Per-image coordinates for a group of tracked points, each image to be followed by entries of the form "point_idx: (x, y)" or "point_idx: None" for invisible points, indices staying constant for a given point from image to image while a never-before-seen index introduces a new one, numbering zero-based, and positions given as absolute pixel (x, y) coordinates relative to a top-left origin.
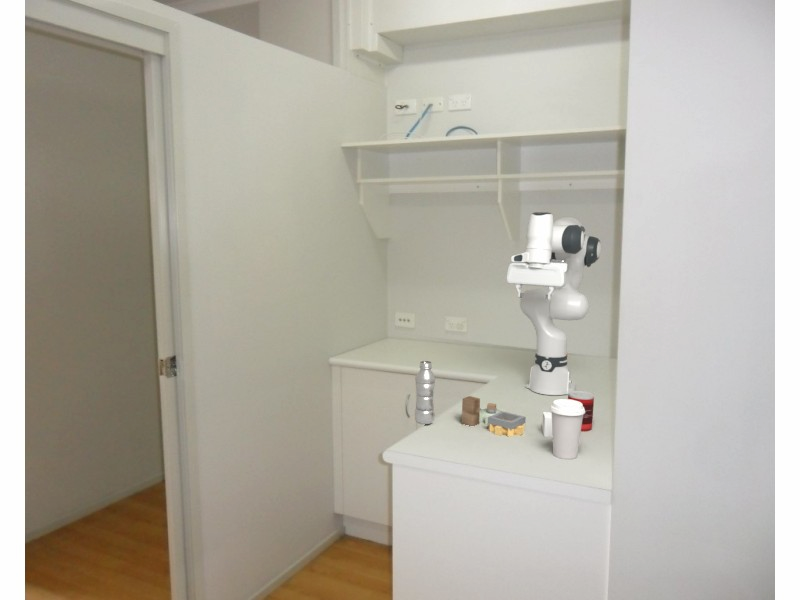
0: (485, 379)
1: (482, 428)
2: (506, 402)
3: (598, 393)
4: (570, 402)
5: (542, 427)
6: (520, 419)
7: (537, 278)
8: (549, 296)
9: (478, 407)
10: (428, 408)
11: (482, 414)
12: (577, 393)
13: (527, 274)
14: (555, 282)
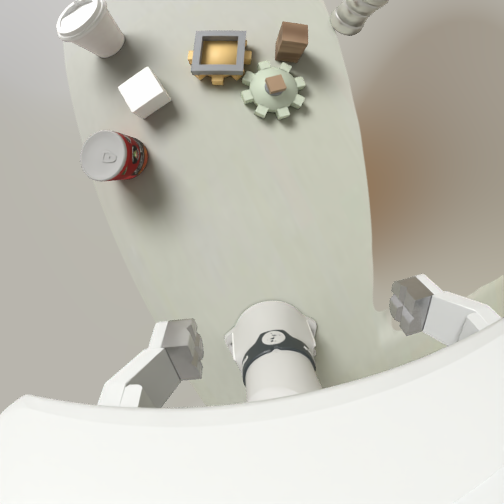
0: (390, 315)
1: (258, 46)
2: (302, 206)
3: None
4: (74, 23)
5: (168, 95)
6: (193, 55)
7: (318, 478)
8: (151, 337)
9: (279, 43)
10: (339, 5)
11: (279, 67)
12: (110, 159)
13: (499, 447)
14: (46, 429)
